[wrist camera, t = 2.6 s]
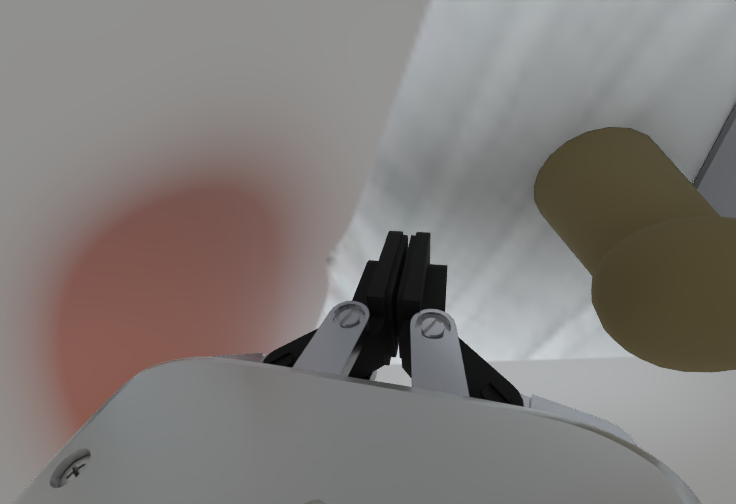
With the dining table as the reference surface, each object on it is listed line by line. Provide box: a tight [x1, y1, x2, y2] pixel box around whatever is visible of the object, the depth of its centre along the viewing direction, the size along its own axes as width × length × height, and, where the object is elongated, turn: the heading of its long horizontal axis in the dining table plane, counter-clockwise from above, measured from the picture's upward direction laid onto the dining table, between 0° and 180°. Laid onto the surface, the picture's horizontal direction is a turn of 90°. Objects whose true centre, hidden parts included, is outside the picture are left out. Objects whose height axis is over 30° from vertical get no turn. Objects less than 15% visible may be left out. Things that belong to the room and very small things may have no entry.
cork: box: [534, 127, 736, 372], centre depth 13 cm, size 6×6×11 cm
